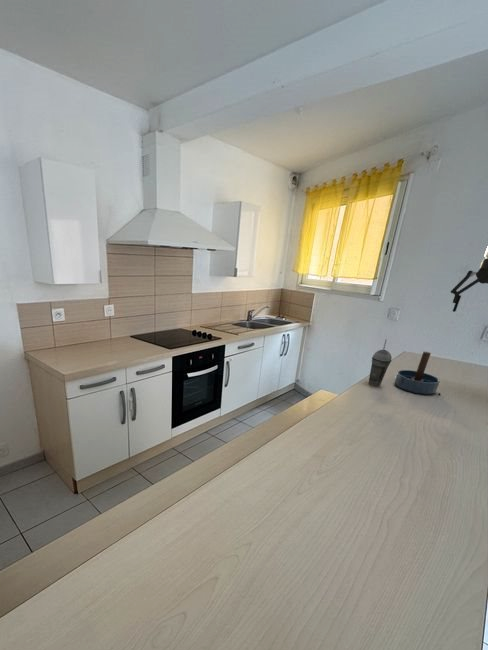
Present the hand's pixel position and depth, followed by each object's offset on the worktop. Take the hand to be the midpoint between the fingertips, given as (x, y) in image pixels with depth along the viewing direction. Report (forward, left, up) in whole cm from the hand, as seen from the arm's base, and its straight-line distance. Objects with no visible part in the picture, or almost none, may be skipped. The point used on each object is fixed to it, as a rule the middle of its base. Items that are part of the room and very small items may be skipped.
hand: (474, 314), depth 132 cm
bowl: (+9, +17, -32) cm, 37 cm away
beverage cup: (+22, +27, -32) cm, 47 cm away
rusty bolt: (+9, +16, -31) cm, 36 cm away
